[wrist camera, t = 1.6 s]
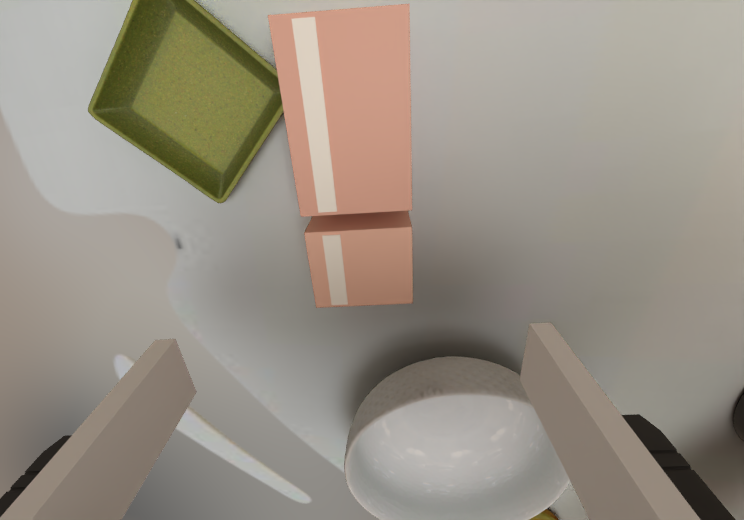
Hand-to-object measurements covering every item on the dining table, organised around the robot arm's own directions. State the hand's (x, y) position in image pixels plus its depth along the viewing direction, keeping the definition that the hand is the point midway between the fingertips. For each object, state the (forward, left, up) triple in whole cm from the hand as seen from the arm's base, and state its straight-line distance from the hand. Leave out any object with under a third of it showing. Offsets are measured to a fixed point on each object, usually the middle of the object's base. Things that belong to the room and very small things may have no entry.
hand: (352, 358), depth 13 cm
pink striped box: (+8, 0, -13) cm, 15 cm away
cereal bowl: (-17, -6, -13) cm, 22 cm away
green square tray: (+9, +9, -13) cm, 19 cm away
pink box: (0, 0, -13) cm, 13 cm away
